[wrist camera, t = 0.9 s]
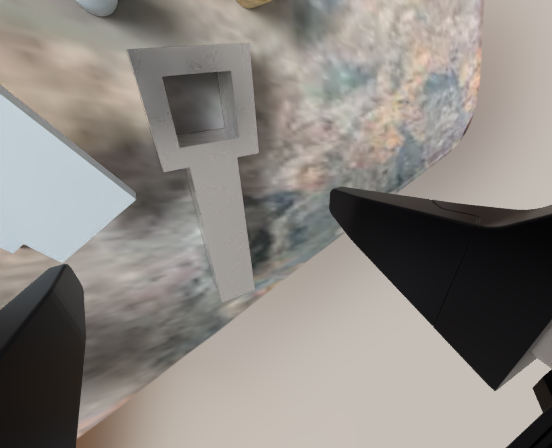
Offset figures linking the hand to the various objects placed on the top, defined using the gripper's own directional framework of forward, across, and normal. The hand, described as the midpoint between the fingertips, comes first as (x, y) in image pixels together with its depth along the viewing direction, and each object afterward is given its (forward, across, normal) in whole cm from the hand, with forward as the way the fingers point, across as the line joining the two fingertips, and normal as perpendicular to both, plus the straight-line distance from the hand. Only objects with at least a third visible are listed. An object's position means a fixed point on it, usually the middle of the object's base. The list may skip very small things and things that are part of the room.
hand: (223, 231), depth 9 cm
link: (+11, -2, +4) cm, 12 cm away
